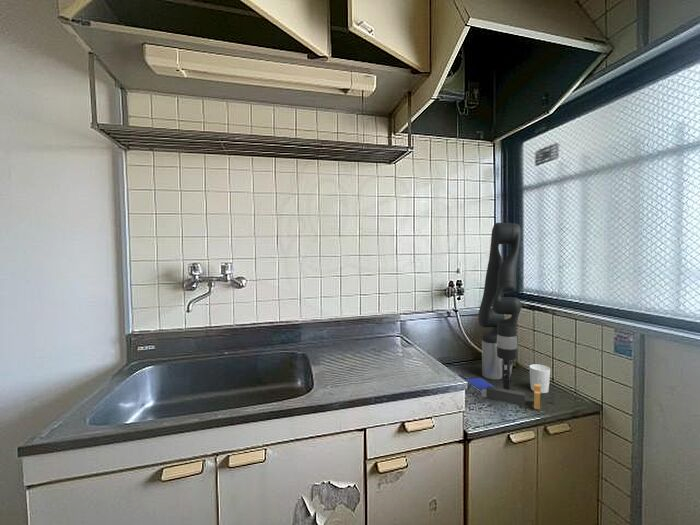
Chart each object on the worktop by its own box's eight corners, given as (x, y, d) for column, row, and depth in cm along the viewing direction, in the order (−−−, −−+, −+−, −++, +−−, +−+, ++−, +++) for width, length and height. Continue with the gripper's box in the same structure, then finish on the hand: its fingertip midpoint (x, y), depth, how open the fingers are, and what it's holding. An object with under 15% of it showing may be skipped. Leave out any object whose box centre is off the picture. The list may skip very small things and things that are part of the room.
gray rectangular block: (482, 394, 142) (482, 385, 142) (524, 402, 134) (524, 392, 134) (481, 397, 140) (481, 387, 140) (524, 405, 132) (524, 395, 131)
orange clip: (534, 401, 134) (534, 381, 134) (540, 402, 133) (540, 382, 133) (534, 408, 129) (534, 387, 128) (540, 409, 128) (540, 388, 127)
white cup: (553, 391, 144) (554, 368, 143) (543, 395, 140) (544, 372, 139) (535, 384, 151) (535, 363, 150) (525, 389, 146) (525, 366, 146)
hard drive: (498, 388, 145) (481, 377, 157) (481, 390, 143) (465, 379, 155) (498, 392, 145) (481, 380, 157) (481, 394, 143) (465, 382, 156)
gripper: (516, 352, 127) (516, 393, 128) (518, 342, 140) (518, 380, 140) (495, 349, 131) (495, 390, 131) (498, 340, 143) (498, 377, 144)
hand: (507, 385), depth 136 cm, fingers open, 8 cm apart
